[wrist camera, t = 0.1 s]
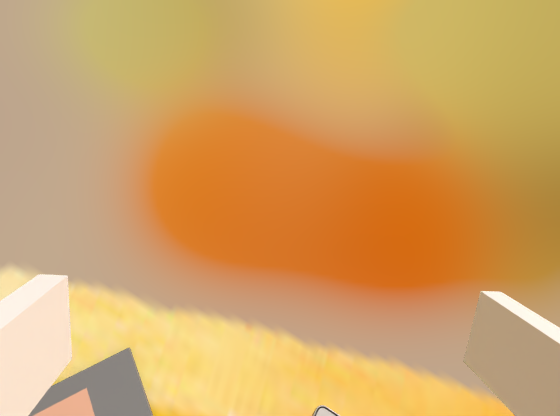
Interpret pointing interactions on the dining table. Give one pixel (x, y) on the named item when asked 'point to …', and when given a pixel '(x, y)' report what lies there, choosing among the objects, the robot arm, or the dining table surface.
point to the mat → (98, 391)
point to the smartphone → (324, 411)
